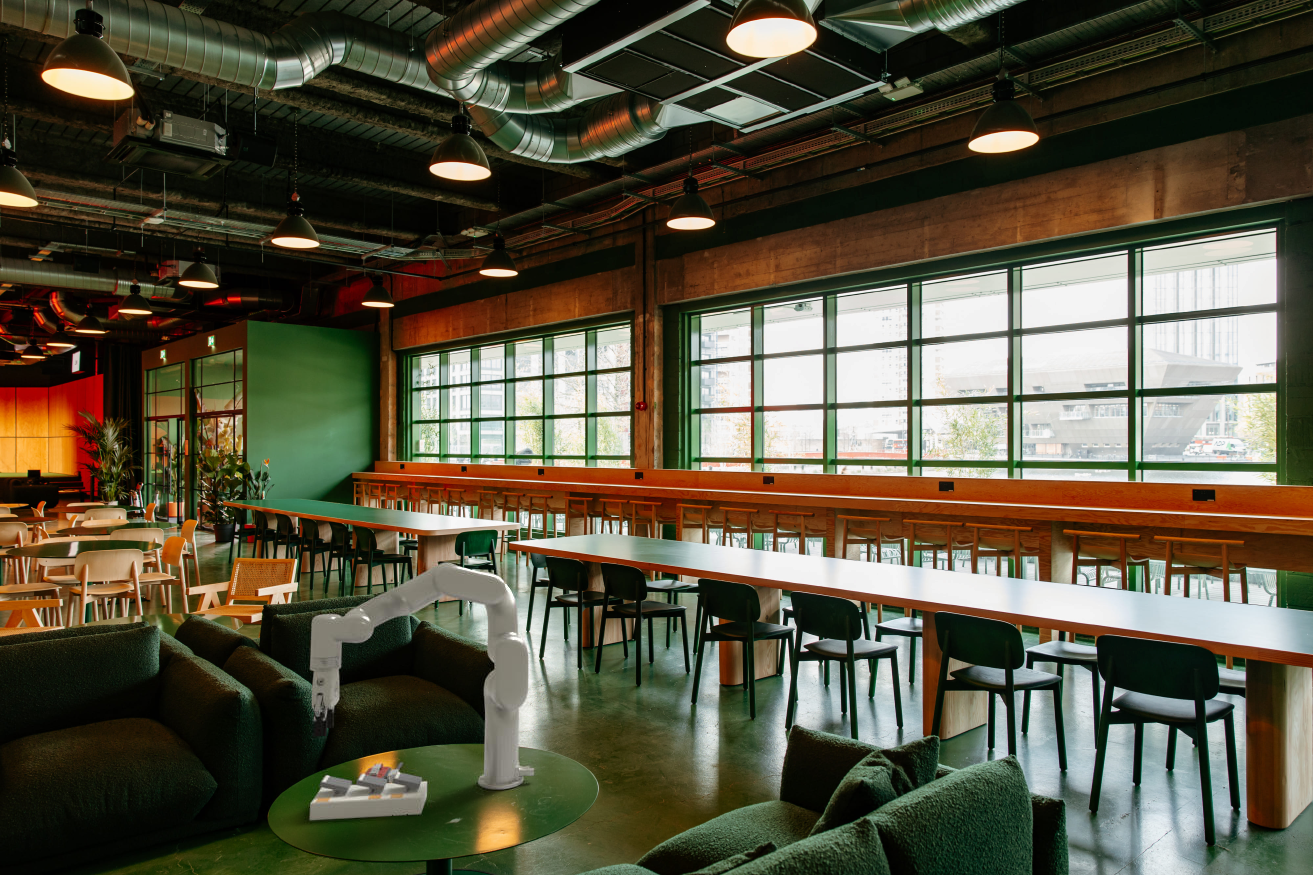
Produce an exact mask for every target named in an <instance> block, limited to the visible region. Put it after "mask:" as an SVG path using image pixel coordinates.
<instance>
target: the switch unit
mask: <svg viewBox="0 0 1313 875" xmlns="http://www.w3.org/2000/svg"><path fill="white" fill-rule="evenodd" d="M427 797H428V781H423V780H422V781H421V784H420V787H419V789H417V788H412V787H407V786H403V785H398V784H394V783H392V782H390V783H386V785H385V787H384V789H383V791H382V790H377V789H372V788H368V787H363V786H358V785H356V784H351V786H350V788H349V790H348V791H347V793H346V792H341V791H337V790H332V789H327V788H322V787H320V789H319V791H318V792H317V793H316V795H315V796H314V798H313V800H312V801H311V802H310V806H309V807H310V808H309V821H319V820H320V821H321V820H334V819H335V820H337V819H340V820H341V819H354V818H373V817H391V816H392V815H393V816H407V814H408V816H409V815H410V816H411V815H422V812H423V809H424V806H425V803H426V800H427Z"/></svg>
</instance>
